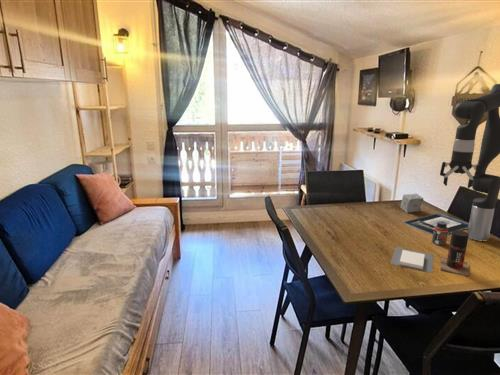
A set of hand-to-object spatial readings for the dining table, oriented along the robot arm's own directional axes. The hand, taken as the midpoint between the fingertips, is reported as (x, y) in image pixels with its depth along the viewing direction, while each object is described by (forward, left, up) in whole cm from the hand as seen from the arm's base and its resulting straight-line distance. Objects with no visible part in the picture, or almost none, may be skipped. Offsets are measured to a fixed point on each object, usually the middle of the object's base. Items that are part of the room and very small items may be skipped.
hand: (456, 186), depth 144 cm
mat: (+15, -13, -32) cm, 38 cm away
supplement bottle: (-9, -3, -32) cm, 34 cm away
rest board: (+14, +3, -32) cm, 35 cm away
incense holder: (-54, -19, -32) cm, 66 cm away
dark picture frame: (-36, -4, -33) cm, 49 cm away
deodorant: (+14, +3, -31) cm, 34 cm away
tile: (+11, -13, -31) cm, 35 cm away
